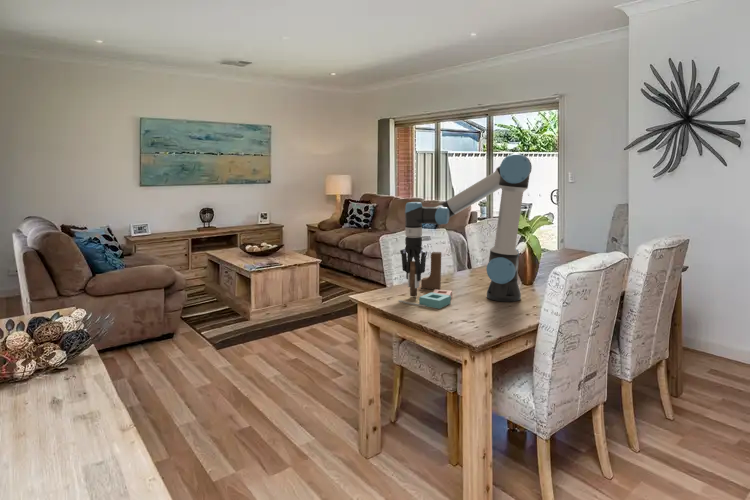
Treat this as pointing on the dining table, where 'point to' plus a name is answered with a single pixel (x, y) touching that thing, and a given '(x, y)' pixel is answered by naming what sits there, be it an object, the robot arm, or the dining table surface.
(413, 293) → the brown square post
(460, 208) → the robot arm
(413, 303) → the grey cord
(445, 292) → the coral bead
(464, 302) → the dining table surface
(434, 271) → the wooden block
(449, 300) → the teal bead
